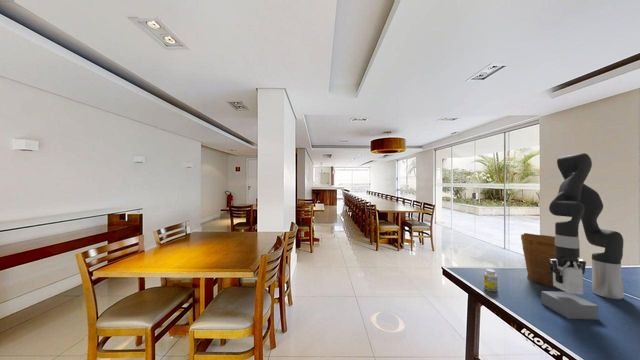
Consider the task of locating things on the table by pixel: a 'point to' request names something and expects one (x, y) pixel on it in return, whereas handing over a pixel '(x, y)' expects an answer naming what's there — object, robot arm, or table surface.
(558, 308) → the base block
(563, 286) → the small box
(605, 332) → the table surface
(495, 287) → the supplement bottle
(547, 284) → the pancake mix bag
